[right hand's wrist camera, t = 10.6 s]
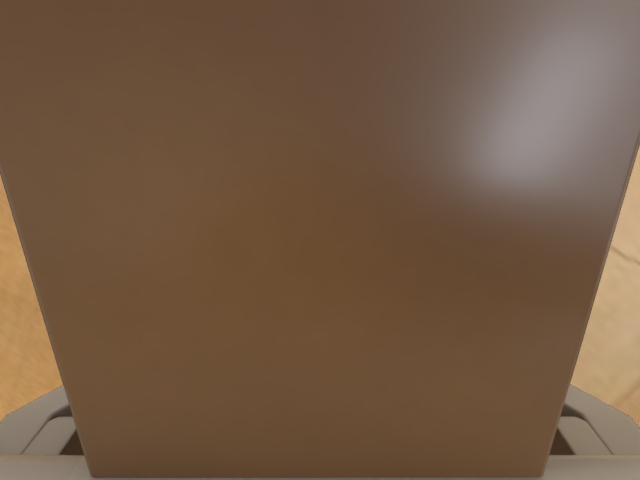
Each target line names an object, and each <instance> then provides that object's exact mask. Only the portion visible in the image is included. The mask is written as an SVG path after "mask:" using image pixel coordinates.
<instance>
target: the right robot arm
mask: <svg viewBox="0 0 640 480" xmlns="http://www.w3.org/2000/svg"><path fill="white" fill-rule="evenodd" d="M0 480H640V428H639V426H638V425H637V424H636V423H635V422H634V421H633V420H632V419H631V418H630V417H629V416H628V415H627V414H625V413H623V412H621V411H619V410H617V409H616V408H614V407H612V406H610V405H608V404H606V403H604V402H603V401H601V400H599V399H597V398H595V397H593V396H591V395H590V394H588V393H586V392H584V391H582V390H580V389H578V388H577V387H575V386H573V385H571V384H570V385H569V388H568V392H567V395H566V399H565V402H564V406H563V409H562V412H561V416H560V419H559V423H558V426H557V430H556V433H555V436H554V440H553V443H552V447H551V450H550V454H549V457H548V460H547V464H546V467H545V471H544V474H543V476H542V477H539V478H93V477H91V476H90V473H89V470H88V466H87V463H86V459H85V456H84V453H83V449H82V446H81V443H80V439H79V436H78V433H77V429H76V426H75V423H74V419H73V416H72V412H71V409H70V406H69V402H68V399H67V396H66V392H65V389H64V386H63V385H62V386H60V387H58V388H56V389H55V390H53V391H51V392H49V393H47V394H45V395H43V396H41V397H40V398H38V399H36V400H34V401H32V402H30V403H28V404H26V405H25V406H23V407H21V408H19V409H17V410H15V411H13V412H11V413H10V414H8V415H6V416H5V418H4V419H3V420H2V421H1V422H0Z"/></svg>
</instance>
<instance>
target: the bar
mask: <svg viewBox="0 0 640 480" xmlns="http://www.w3.org/2000/svg"><path fill="white" fill-rule="evenodd" d="M639 145H640V0H0V174H1V178H2V181H3V184H4V188H5V191H6V194H7V198H8V201H9V204H10V208H11V211H12V215H13V218H14V221H15V225H16V228H17V231H18V235H19V238H20V241H21V245H22V248H23V251H24V255H25V258H26V262H27V265H28V268H29V272H30V275H31V278H32V282H33V285H34V288H35V292H36V295H37V298H38V302H39V305H40V308H41V312H42V315H43V319H44V322H45V325H46V329H47V332H48V335H49V339H50V342H51V345H52V349H53V352H54V355H55V359H56V362H57V366H58V369H59V372H60V376H61V379H62V382H63V386H64V389H65V392H66V396H67V399H68V402H69V406H70V409H71V412H72V416H73V419H74V423H75V426H76V429H77V433H78V436H79V439H80V443H81V446H82V449H83V453H84V456H85V459H86V463H87V466H88V470H89V473H90V476H91V477H93V478H539V477H542V476H543V474H544V471H545V467H546V464H547V460H548V457H549V454H550V450H551V447H552V443H553V440H554V436H555V433H556V430H557V426H558V423H559V419H560V416H561V412H562V409H563V406H564V402H565V399H566V395H567V392H568V388H569V385H570V382H571V378H572V375H573V371H574V368H575V364H576V361H577V358H578V354H579V351H580V347H581V344H582V341H583V337H584V334H585V330H586V327H587V323H588V320H589V317H590V313H591V310H592V306H593V303H594V299H595V296H596V293H597V289H598V286H599V282H600V279H601V275H602V272H603V269H604V265H605V262H606V258H607V255H608V251H609V248H610V245H611V241H612V238H613V234H614V231H615V227H616V224H617V221H618V217H619V214H620V210H621V207H622V203H623V200H624V197H625V193H626V190H627V186H628V183H629V179H630V176H631V173H632V169H633V166H634V162H635V159H636V156H637V152H638V149H639Z"/></svg>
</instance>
